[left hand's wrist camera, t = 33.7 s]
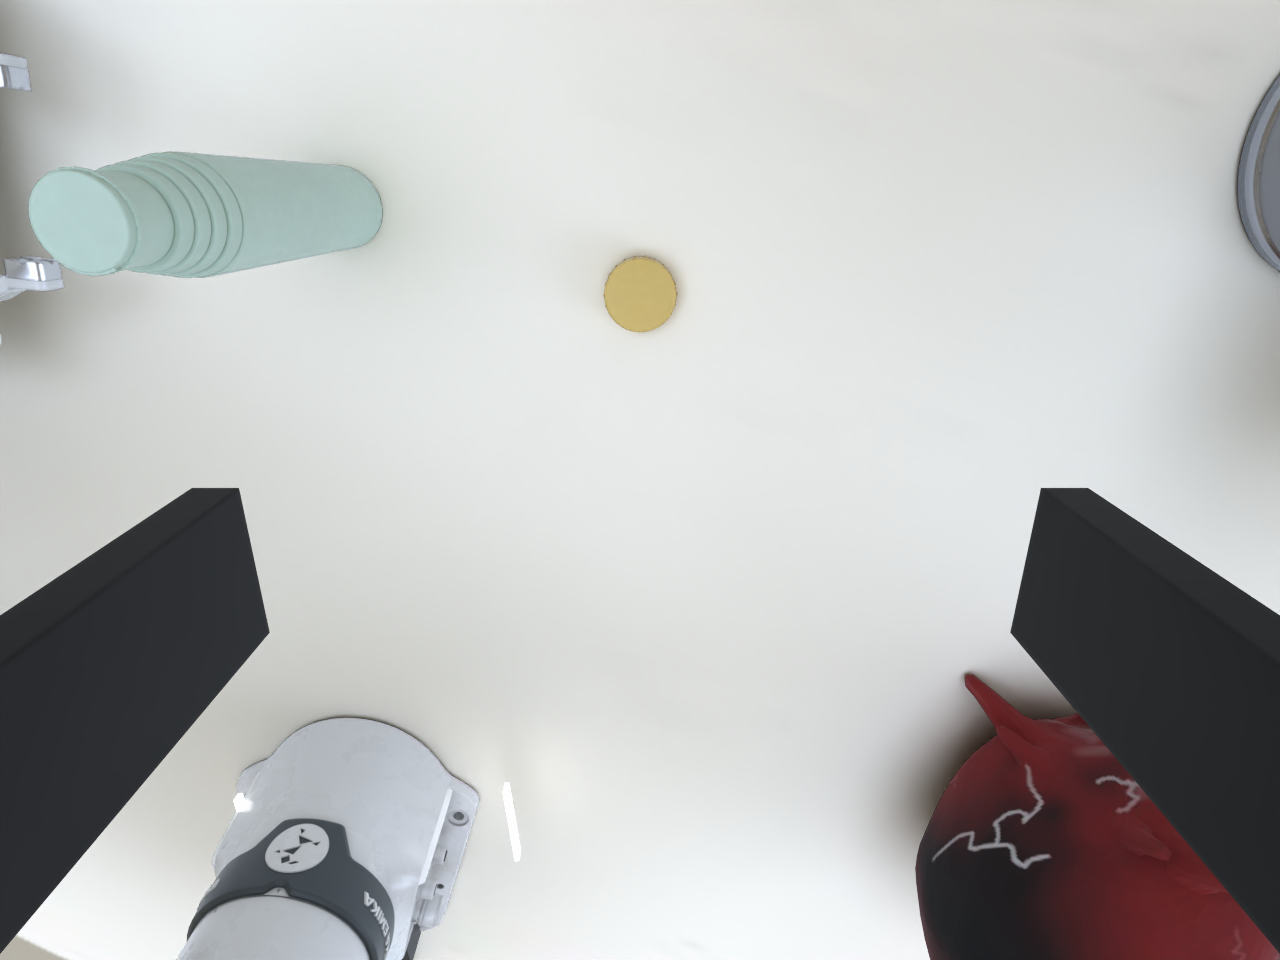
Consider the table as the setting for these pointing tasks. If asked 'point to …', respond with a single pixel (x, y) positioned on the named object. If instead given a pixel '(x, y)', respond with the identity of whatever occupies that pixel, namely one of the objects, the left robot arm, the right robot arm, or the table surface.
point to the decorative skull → (1065, 858)
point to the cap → (640, 294)
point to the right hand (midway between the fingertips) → (37, 179)
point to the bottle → (200, 214)
